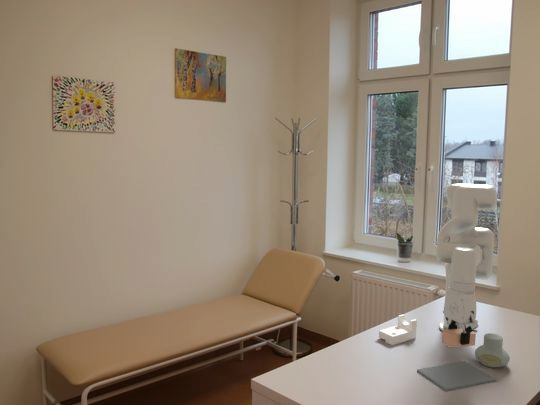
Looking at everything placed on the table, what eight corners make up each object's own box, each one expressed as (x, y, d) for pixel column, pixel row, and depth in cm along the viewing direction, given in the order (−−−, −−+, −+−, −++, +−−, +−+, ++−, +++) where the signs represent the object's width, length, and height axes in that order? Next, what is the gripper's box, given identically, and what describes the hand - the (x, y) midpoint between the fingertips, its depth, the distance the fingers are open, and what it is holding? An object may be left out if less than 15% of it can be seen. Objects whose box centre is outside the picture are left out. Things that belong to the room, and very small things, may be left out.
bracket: (401, 332, 199) (402, 314, 198) (415, 338, 194) (416, 319, 193) (378, 339, 192) (379, 320, 191) (392, 345, 186) (393, 326, 185)
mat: (464, 362, 173) (464, 360, 173) (496, 380, 160) (496, 379, 160) (417, 371, 166) (417, 369, 166) (445, 391, 153) (446, 389, 153)
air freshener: (509, 363, 173) (512, 335, 172) (507, 372, 166) (509, 344, 164) (476, 355, 178) (478, 329, 177) (472, 364, 171) (474, 337, 170)
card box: (441, 341, 162) (442, 329, 162) (466, 340, 164) (467, 328, 164) (449, 347, 158) (450, 334, 157) (474, 345, 160) (475, 333, 159)
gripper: (434, 280, 165) (431, 332, 167) (472, 294, 149) (468, 352, 152) (452, 278, 168) (449, 330, 170) (491, 292, 152) (487, 349, 154)
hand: (458, 340), depth 161 cm, fingers closed on card box, 5 cm apart
